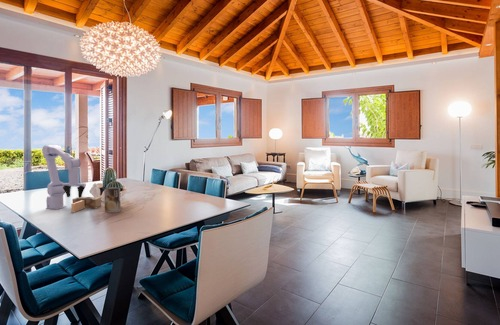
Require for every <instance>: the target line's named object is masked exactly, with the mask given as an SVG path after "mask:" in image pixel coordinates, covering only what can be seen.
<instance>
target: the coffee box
mask: <svg viewBox="0 0 500 325" xmlns="http://www.w3.org/2000/svg"><path fill="white" fill-rule="evenodd" d="M120 193H121V187H120V186H119V187H105V188H104V194H103V195H104V213H105V214H107V213H120V212H121V210H122V209H121V207H122V205H121V203H122V202H120V200H121V194H120Z"/></svg>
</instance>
